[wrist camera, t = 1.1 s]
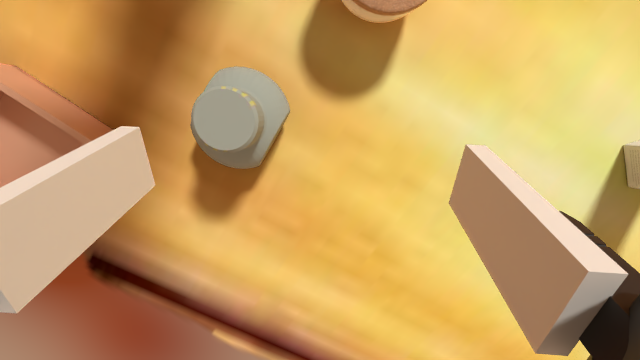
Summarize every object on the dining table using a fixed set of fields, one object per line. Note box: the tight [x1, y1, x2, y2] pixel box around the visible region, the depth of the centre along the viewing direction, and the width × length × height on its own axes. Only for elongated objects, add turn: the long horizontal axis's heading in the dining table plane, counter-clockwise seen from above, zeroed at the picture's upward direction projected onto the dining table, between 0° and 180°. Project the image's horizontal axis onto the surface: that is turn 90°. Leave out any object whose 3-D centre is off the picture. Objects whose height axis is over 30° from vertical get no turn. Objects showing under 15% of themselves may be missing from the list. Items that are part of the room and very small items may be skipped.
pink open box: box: [0, 63, 113, 188], centre depth 33 cm, size 13×13×6 cm
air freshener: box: [191, 67, 290, 169], centre depth 31 cm, size 11×8×10 cm
